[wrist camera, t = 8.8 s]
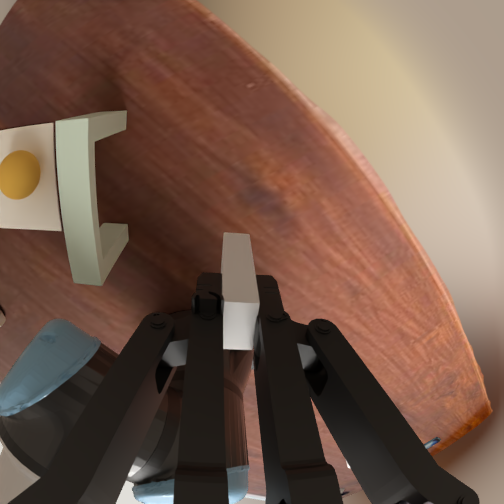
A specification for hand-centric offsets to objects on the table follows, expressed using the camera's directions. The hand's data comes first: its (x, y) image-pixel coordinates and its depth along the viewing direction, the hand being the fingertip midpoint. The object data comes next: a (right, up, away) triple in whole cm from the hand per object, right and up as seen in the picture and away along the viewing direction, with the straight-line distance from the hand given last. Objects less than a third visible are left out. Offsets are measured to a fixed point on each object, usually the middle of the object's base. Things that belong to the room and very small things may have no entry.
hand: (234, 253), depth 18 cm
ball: (-24, +9, +7) cm, 27 cm away
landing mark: (-28, +9, +10) cm, 31 cm away
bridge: (-14, +8, +11) cm, 19 cm away
